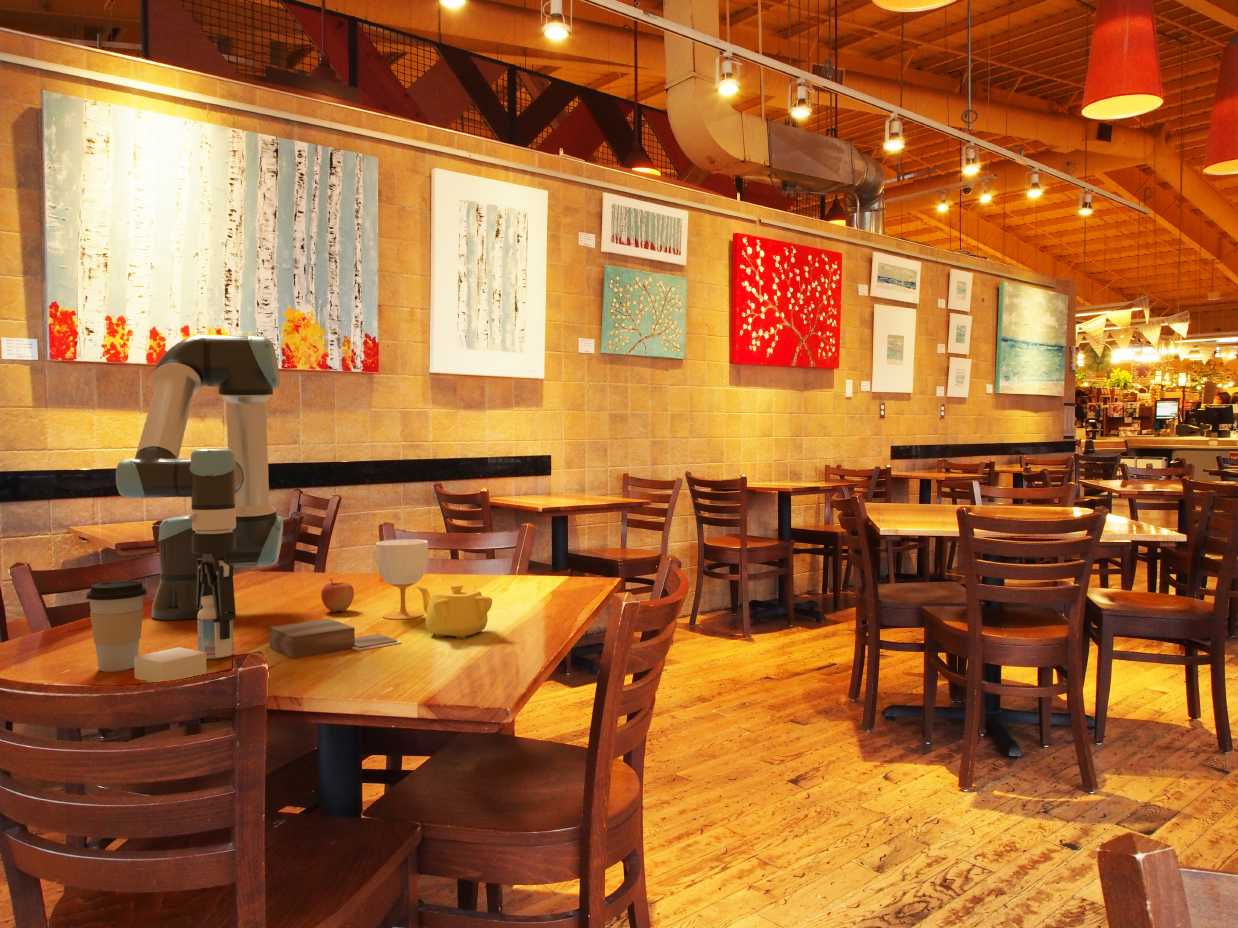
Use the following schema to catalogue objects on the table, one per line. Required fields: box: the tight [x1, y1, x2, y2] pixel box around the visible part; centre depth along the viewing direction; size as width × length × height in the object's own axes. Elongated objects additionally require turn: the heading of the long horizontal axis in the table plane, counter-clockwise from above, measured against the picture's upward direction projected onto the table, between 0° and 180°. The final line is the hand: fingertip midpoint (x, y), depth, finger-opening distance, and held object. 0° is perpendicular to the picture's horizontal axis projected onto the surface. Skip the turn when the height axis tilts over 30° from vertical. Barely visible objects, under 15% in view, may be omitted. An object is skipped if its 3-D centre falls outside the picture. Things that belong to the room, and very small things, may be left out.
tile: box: [352, 633, 402, 652], centre depth 174 cm, size 9×9×1 cm
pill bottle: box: [196, 595, 235, 660], centre depth 164 cm, size 6×6×11 cm
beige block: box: [133, 646, 207, 683], centre depth 150 cm, size 8×8×4 cm
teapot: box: [415, 584, 493, 639], centre depth 182 cm, size 14×13×10 cm
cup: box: [375, 538, 429, 621], centre depth 201 cm, size 12×12×17 cm
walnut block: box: [269, 618, 356, 659], centre depth 171 cm, size 12×12×4 cm
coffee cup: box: [85, 580, 148, 673], centre depth 156 cm, size 9×9×15 cm
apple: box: [320, 578, 355, 614], centre depth 206 cm, size 7×7×8 cm
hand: (215, 651), depth 164 cm, fingers open, 8 cm apart
